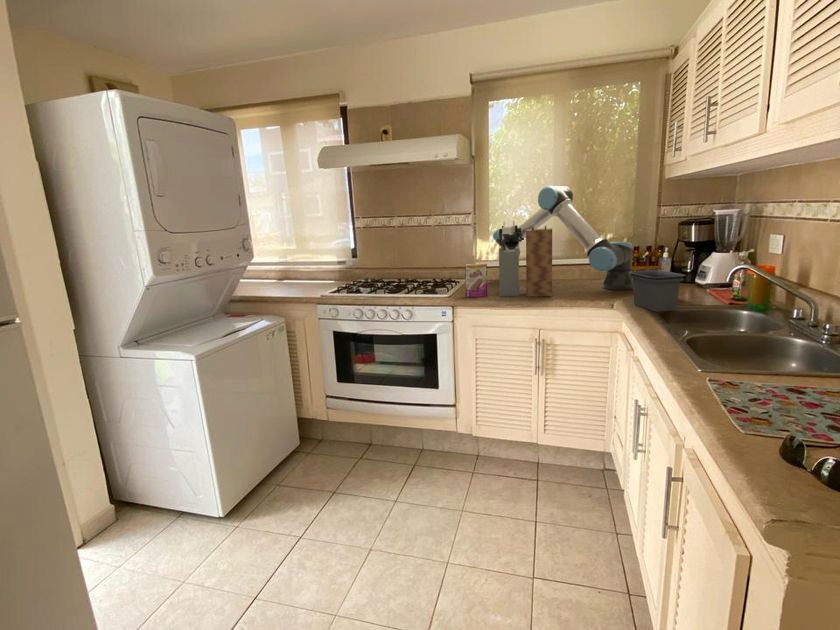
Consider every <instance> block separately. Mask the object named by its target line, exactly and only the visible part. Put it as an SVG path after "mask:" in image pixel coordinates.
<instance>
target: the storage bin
mask: <svg viewBox="0 0 840 630" xmlns="http://www.w3.org/2000/svg"><path fill="white" fill-rule="evenodd" d="M629 273H630V274H631V275H630V277H631V278H633V289H632V290H633V292H632V293H633V304H634V305H635V306H638V307H640V308H643V309H647V310H648V311H649V310H650V311H653V312H656V313H658V312H660V313H661V312H672V311H676V310H677V305H678V296H679V292H680V286H681V285H680V284H681V282H683V281H684V278H683V277H685V276H686V275H685V274H682V273H677V272H672V271H666V270H661V269H660V270H659V269H647V270H646V269H645V270H634V271H633V270H631V272H629Z"/></svg>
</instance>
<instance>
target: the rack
mask: <svg viewBox="0 0 840 630" xmlns="http://www.w3.org/2000/svg"><path fill="white" fill-rule="evenodd" d="M519 248H520V245H519V246H517V247H516V248H515V250H503V247H499V249H498V272H499V273H498V279H499V285H498V286H499V297H519V293H520V256H519Z"/></svg>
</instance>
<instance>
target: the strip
mask: <svg viewBox="0 0 840 630" xmlns="http://www.w3.org/2000/svg"><path fill="white" fill-rule="evenodd" d="M501 228H502V227H501ZM512 232H514V231H513V224H512V225H506V226H505V227H503V228H502V234H511V233H512Z"/></svg>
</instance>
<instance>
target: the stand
mask: <svg viewBox="0 0 840 630" xmlns="http://www.w3.org/2000/svg"><path fill="white" fill-rule="evenodd" d="M525 261H526V262H525V267H526V268H525V275H526V278H525V280H526V281H525V282H526V283H525V284H526V285H525V287H526V288H525V289H526V297H527V296H552V297H553V228H547V225H544V228H537V229H534V226H532V229H527V230H526V239H525ZM527 298H528V297H527Z"/></svg>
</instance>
